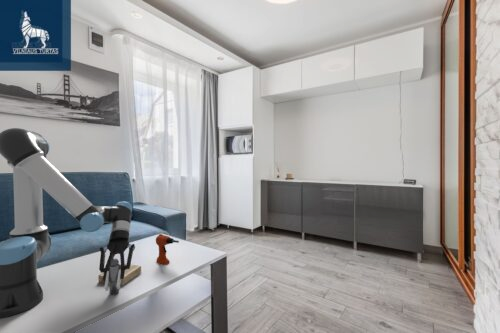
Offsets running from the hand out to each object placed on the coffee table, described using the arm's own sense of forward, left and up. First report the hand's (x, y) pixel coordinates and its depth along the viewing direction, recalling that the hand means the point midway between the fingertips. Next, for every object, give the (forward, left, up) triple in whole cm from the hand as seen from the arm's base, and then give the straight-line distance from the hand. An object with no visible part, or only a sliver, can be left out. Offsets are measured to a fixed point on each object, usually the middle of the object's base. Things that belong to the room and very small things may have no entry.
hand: (112, 288), depth 90 cm
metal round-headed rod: (-2, +3, -4) cm, 5 cm away
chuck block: (-9, +15, -4) cm, 18 cm away
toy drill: (+5, +31, -4) cm, 32 cm away
